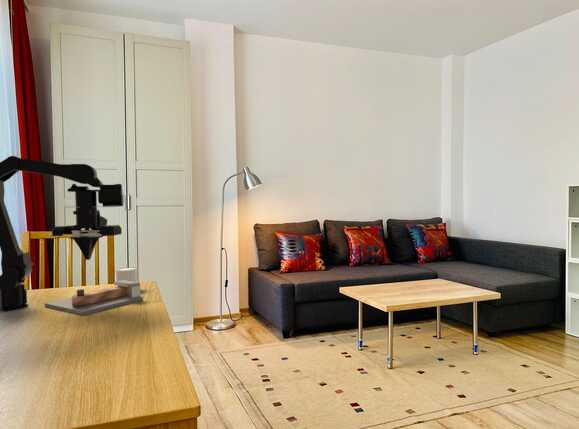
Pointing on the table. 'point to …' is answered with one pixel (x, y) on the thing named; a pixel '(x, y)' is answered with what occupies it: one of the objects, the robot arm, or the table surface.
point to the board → (91, 305)
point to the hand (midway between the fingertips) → (88, 259)
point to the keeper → (130, 287)
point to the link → (97, 295)
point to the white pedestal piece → (127, 274)
